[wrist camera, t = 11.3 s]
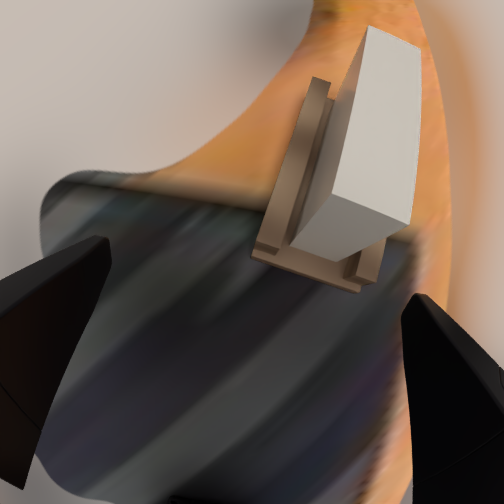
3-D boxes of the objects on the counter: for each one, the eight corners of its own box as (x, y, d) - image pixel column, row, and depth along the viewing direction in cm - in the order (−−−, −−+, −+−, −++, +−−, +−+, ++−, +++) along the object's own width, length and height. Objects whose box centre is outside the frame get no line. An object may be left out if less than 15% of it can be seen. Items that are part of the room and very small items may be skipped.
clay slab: (336, 262, 21) (409, 225, 11) (289, 245, 21) (331, 193, 11) (367, 127, 23) (420, 49, 14) (329, 112, 24) (368, 25, 14)
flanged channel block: (353, 293, 22) (374, 290, 18) (250, 258, 22) (253, 248, 19) (387, 131, 25) (405, 110, 21) (305, 99, 25) (314, 72, 21)
